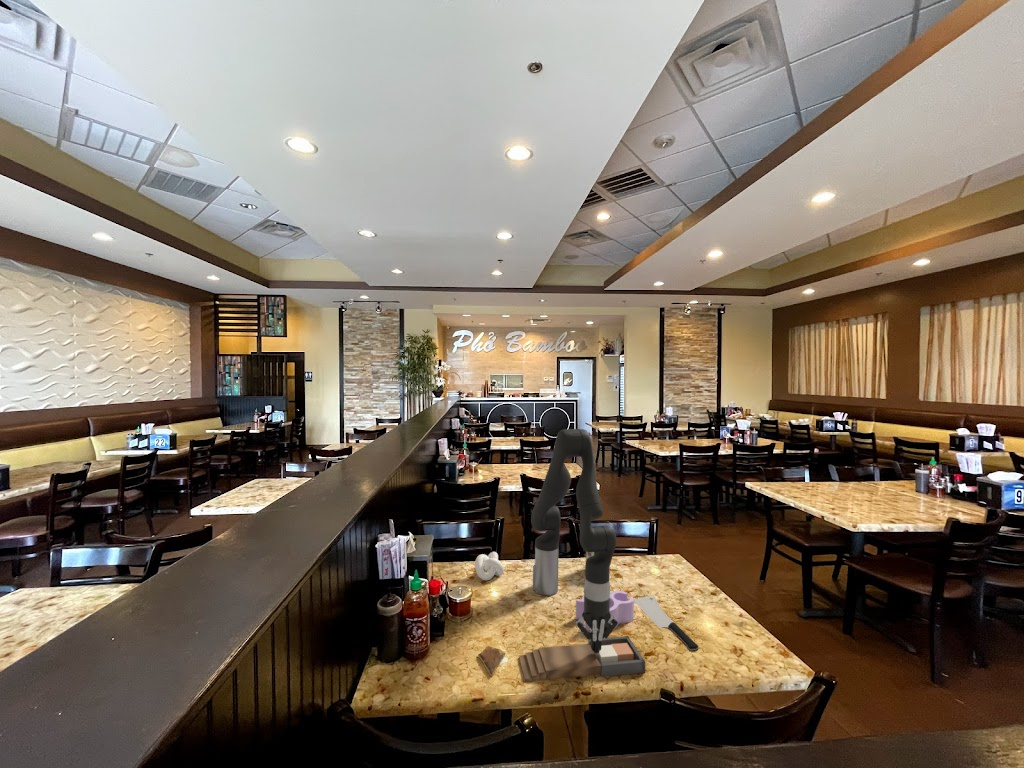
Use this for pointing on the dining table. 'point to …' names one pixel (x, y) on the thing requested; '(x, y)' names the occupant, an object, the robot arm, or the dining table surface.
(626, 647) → the tile terracotta
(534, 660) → the brown stairs
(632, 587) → the dining table surface
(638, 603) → the kitchen cleaver
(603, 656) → the tile cream
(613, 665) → the box
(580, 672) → the board
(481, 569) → the white knot
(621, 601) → the purple double cup holder
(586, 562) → the robot arm
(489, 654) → the shard
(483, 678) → the dining table surface
